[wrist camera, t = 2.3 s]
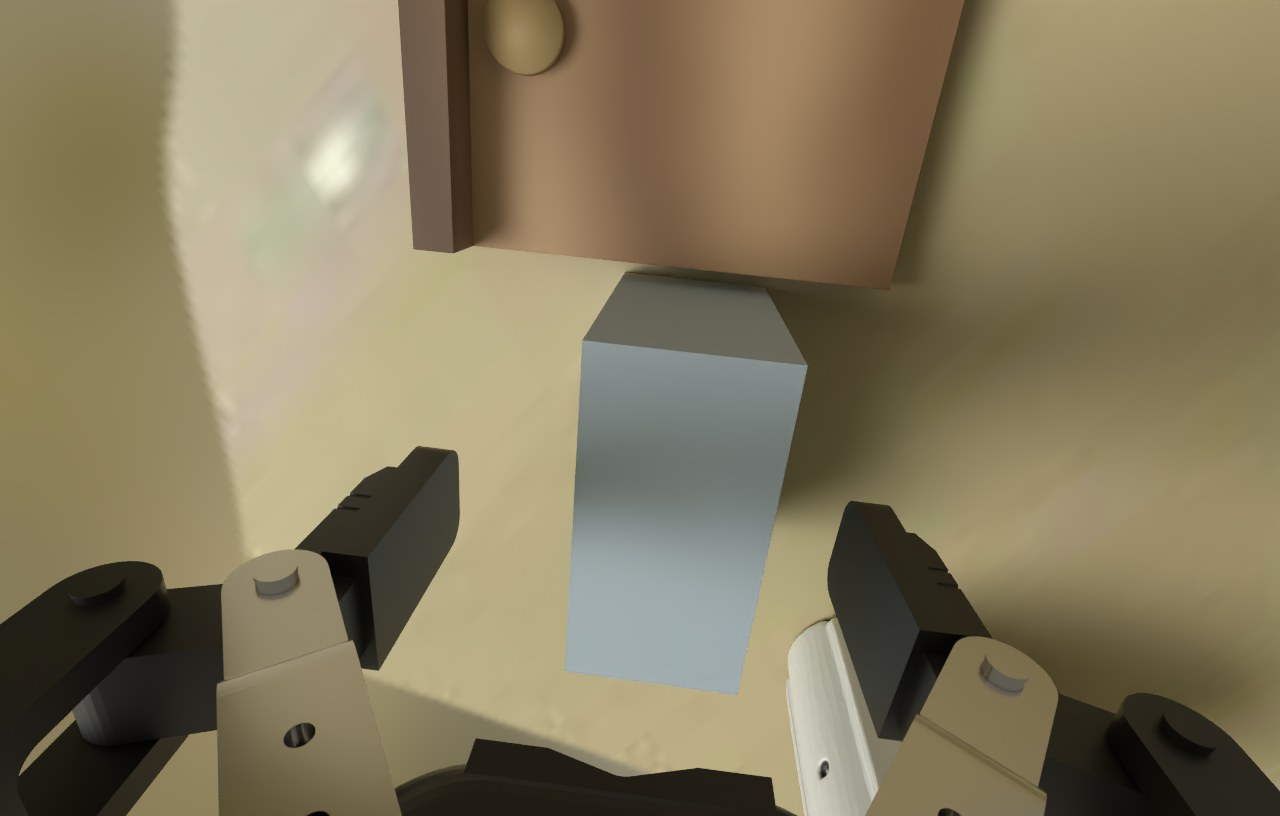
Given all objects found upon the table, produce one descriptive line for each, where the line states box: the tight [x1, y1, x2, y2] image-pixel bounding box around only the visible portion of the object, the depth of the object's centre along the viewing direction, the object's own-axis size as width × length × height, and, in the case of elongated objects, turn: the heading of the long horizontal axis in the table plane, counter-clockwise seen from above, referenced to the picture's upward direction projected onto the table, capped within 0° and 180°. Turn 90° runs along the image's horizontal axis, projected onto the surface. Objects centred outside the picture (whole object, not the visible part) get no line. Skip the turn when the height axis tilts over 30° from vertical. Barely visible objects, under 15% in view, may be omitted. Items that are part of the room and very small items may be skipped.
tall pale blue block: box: [565, 272, 808, 695], centre depth 15 cm, size 4×8×7 cm, turn 175°
